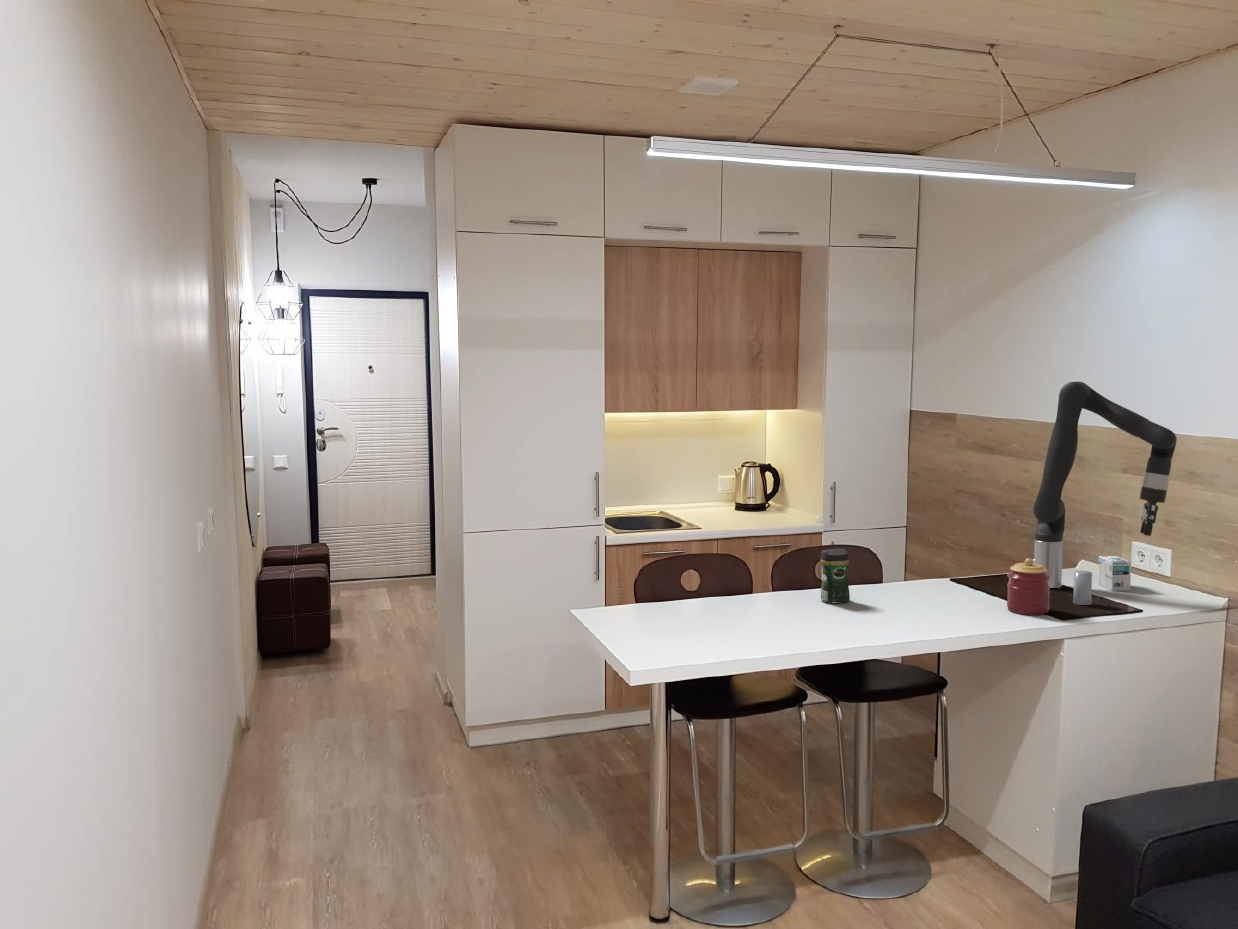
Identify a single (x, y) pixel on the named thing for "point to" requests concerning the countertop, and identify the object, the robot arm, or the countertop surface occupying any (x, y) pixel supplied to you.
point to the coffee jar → (835, 575)
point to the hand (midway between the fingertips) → (1145, 534)
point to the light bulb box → (1114, 573)
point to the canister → (1028, 588)
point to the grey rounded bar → (1082, 587)
